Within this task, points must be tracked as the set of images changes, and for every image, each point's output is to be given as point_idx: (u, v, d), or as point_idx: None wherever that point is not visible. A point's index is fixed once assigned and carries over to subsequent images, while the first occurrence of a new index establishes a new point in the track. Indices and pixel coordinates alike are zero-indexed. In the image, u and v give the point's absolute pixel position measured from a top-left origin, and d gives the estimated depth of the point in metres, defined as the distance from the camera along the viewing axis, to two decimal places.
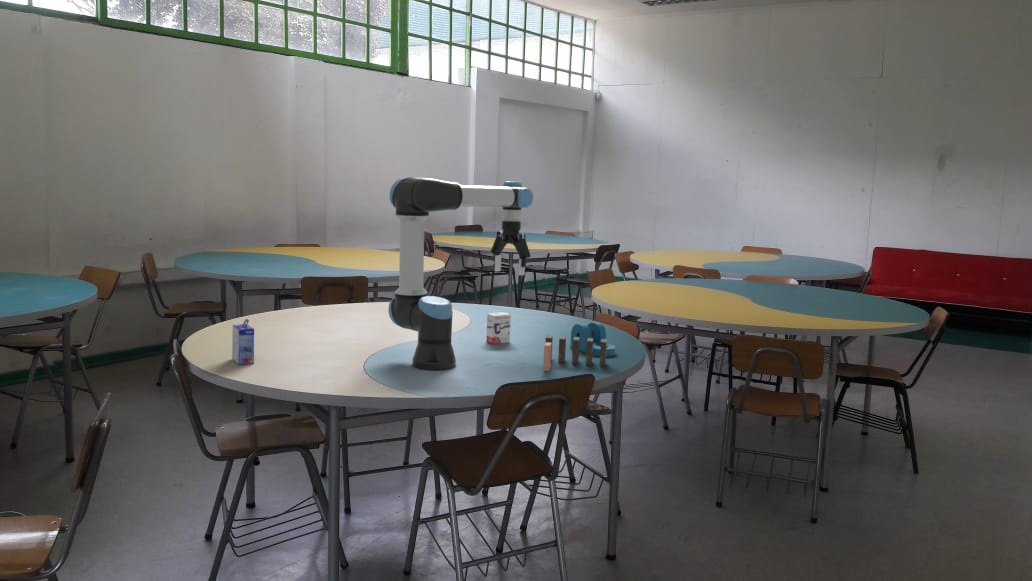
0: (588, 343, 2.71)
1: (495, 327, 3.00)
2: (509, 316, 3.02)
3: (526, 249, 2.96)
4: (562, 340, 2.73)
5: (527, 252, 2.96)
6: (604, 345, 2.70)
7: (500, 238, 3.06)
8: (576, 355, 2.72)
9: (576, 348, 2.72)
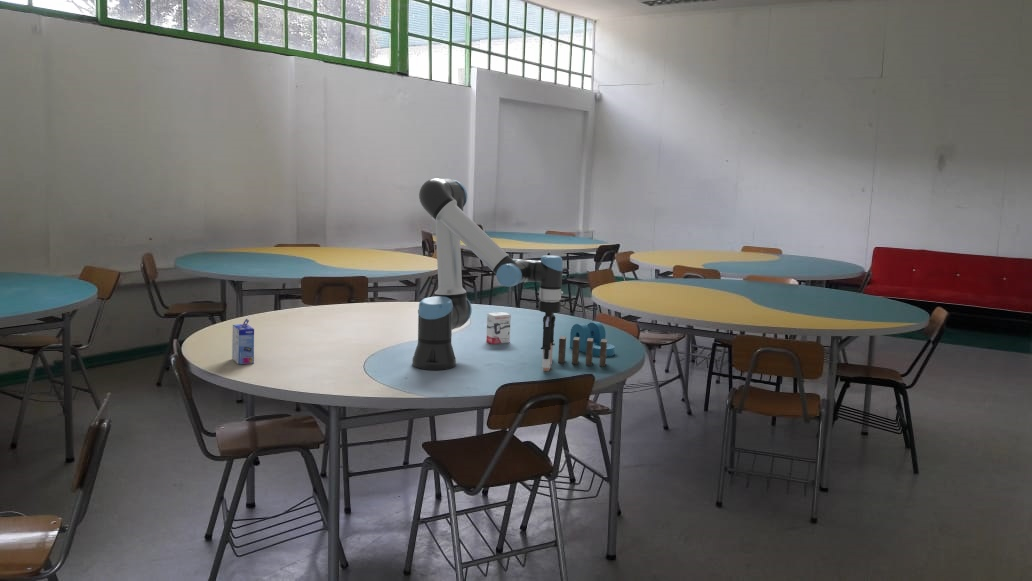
0: (588, 343, 2.71)
1: (495, 327, 3.00)
2: (509, 316, 3.02)
3: (546, 340, 2.57)
4: (562, 340, 2.73)
5: (546, 343, 2.57)
6: (604, 345, 2.70)
7: None
8: (576, 355, 2.72)
9: (576, 348, 2.72)
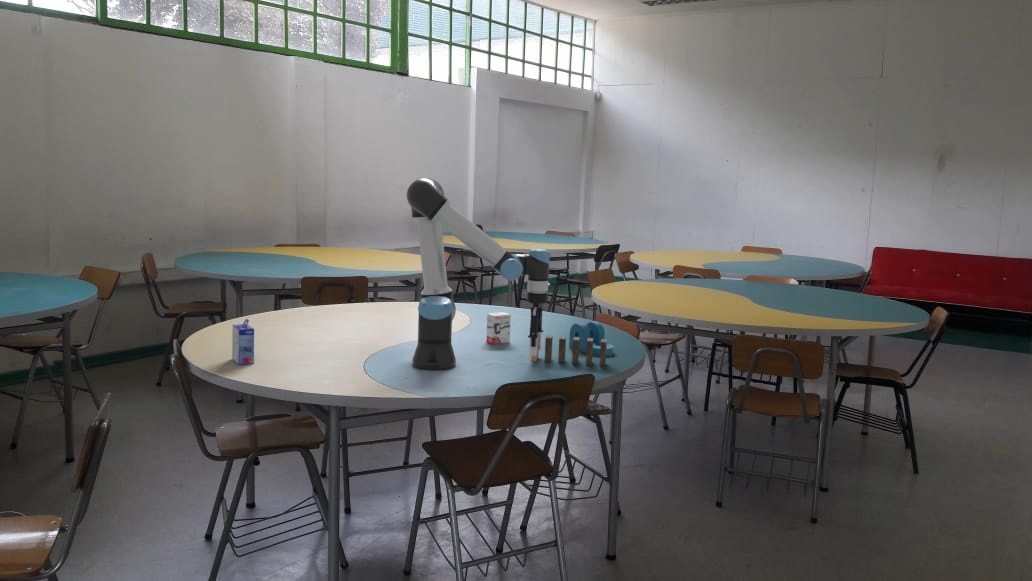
0: (588, 343, 2.71)
1: (495, 327, 3.00)
2: (509, 316, 3.02)
3: (533, 328, 2.69)
4: (562, 340, 2.73)
5: (533, 331, 2.69)
6: (604, 345, 2.70)
7: None
8: (576, 355, 2.72)
9: (576, 348, 2.72)
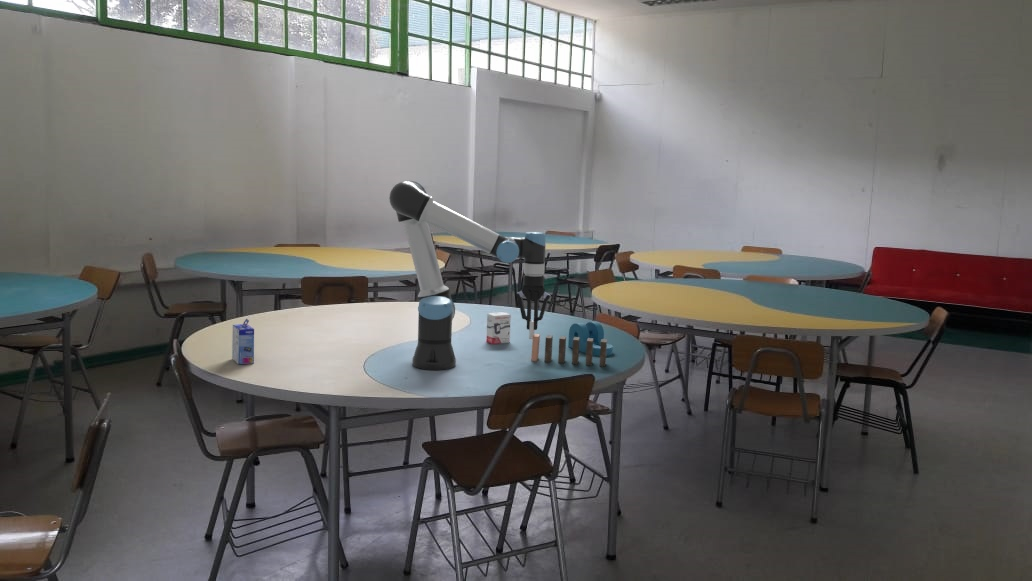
0: (588, 343, 2.71)
1: (495, 327, 3.00)
2: (509, 316, 3.02)
3: (544, 311, 2.75)
4: (562, 340, 2.73)
5: None
6: (604, 345, 2.70)
7: (522, 299, 2.76)
8: (576, 355, 2.72)
9: (576, 348, 2.72)
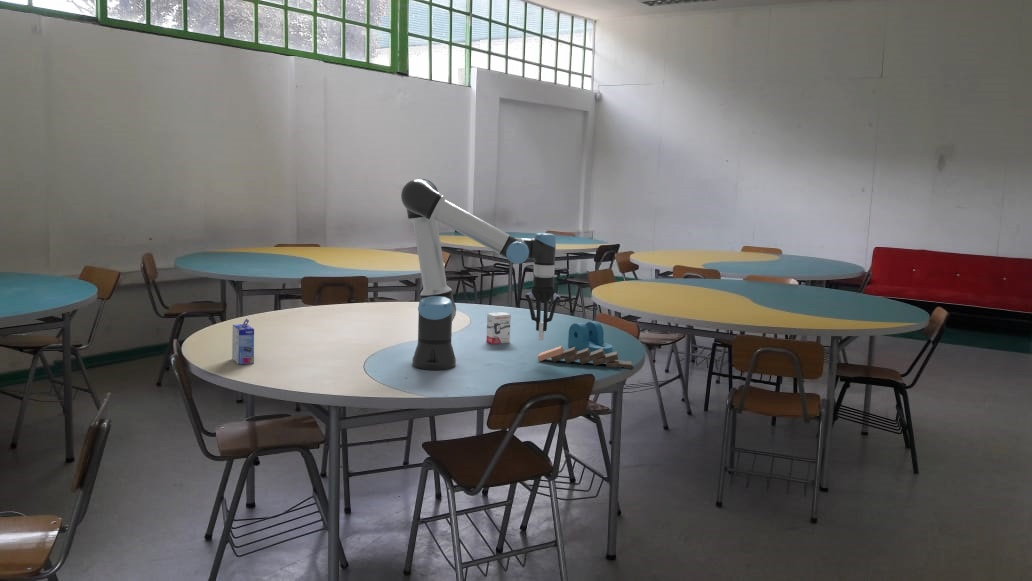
0: (614, 356, 2.71)
1: (495, 327, 3.00)
2: (509, 316, 3.02)
3: (553, 313, 2.74)
4: (587, 354, 2.72)
5: (552, 316, 2.75)
6: None
7: (531, 300, 2.75)
8: (589, 360, 2.72)
9: (596, 357, 2.71)
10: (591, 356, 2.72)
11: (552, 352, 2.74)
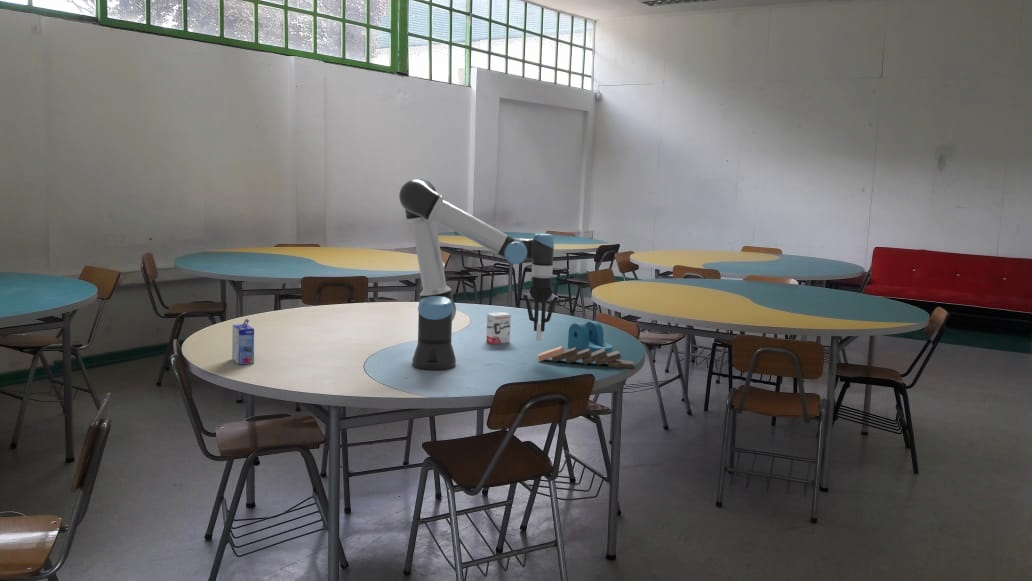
0: (617, 355, 2.71)
1: (495, 327, 3.00)
2: (509, 316, 3.02)
3: (551, 313, 2.74)
4: (588, 354, 2.71)
5: (550, 316, 2.75)
6: (629, 367, 2.71)
7: (529, 300, 2.75)
8: (592, 360, 2.72)
9: (598, 357, 2.71)
10: (594, 356, 2.71)
11: (553, 352, 2.74)
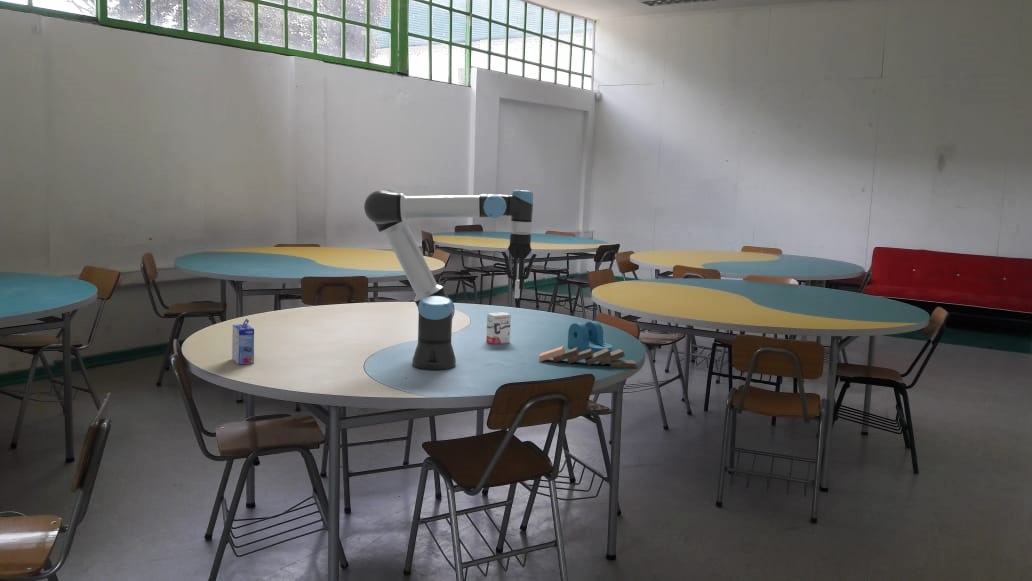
0: (621, 353, 2.73)
1: (495, 327, 3.00)
2: (509, 316, 3.02)
3: (530, 270, 2.73)
4: (590, 354, 2.72)
5: None
6: (631, 367, 2.72)
7: (508, 257, 2.74)
8: (596, 360, 2.71)
9: (602, 357, 2.71)
10: (598, 356, 2.71)
11: (553, 352, 2.74)
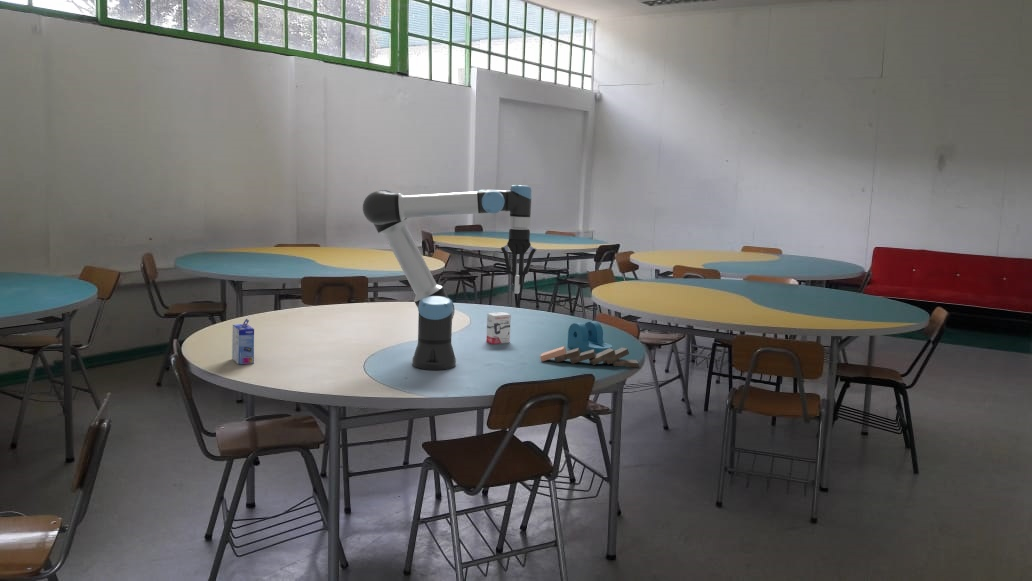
0: (625, 351, 2.74)
1: (495, 327, 3.00)
2: (509, 316, 3.02)
3: (529, 266, 2.73)
4: (592, 355, 2.72)
5: (528, 269, 2.73)
6: (635, 366, 2.72)
7: (507, 253, 2.73)
8: (601, 360, 2.72)
9: (607, 357, 2.72)
10: (603, 356, 2.71)
11: (555, 352, 2.74)
